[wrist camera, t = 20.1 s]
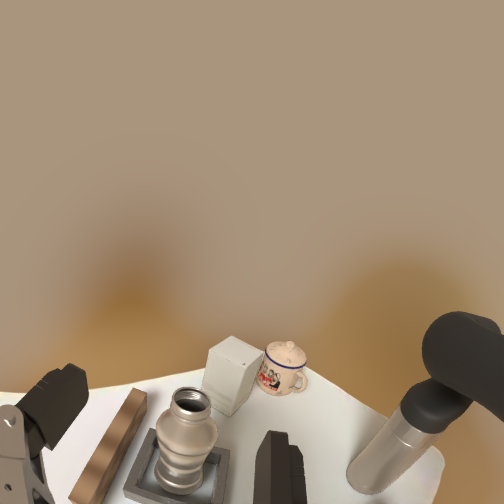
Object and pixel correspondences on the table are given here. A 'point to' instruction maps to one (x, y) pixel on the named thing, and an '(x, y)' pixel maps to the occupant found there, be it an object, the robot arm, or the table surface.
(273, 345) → the teacup with lid
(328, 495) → the table surface
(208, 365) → the supplement box
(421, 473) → the table surface
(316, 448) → the table surface
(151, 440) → the keeper
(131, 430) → the wooden plank
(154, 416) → the table surface
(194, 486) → the silver bottle
